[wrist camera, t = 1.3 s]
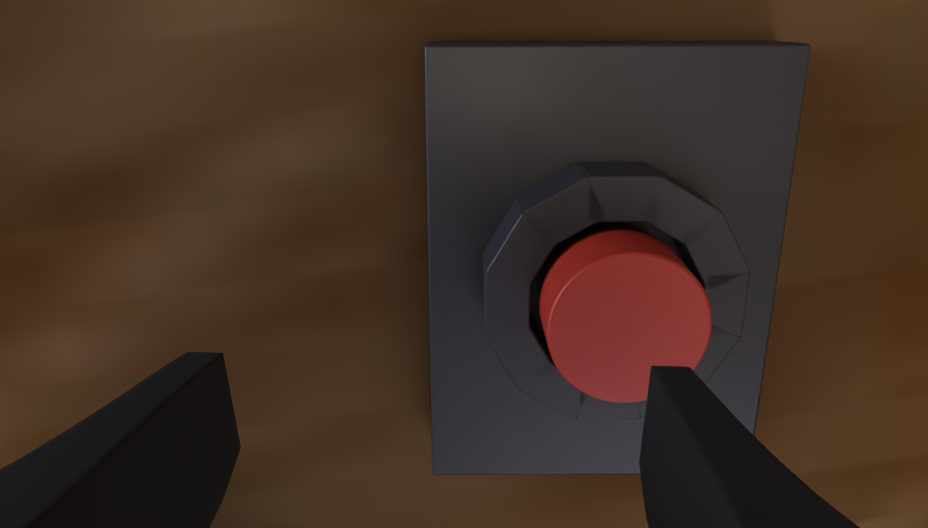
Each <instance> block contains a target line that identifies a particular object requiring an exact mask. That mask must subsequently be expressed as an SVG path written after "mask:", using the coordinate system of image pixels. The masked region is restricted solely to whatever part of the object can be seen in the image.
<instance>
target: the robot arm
mask: <svg viewBox="0 0 928 528" xmlns="http://www.w3.org/2000/svg"><path fill="white" fill-rule="evenodd" d="M240 448H241V446H240V441H239V436H238V431H237V425H236V420H235V415H234V409H233V404H232V399H231V394H230V388H229V383H228V378H227V372H226V367H225V362H224V357H223V353H207V352H187V353H186V354H184V355H182V356H180V357H179V358H177V359H175V360H174V361H172V362H170V363H169V364H167V365H166V366H164V367H163V368H161V369H160V370H158V371H157V372H155V373H154V374H152V375H151V376H149V377H148V378H146V379H145V380H143V381H142V382H140V383H139V384H137V385H136V386H134V387H133V388H131V389H130V390H128V391H127V392H125V393H124V394H122V395H121V396H119V397H118V398H116V399H115V400H113V401H112V402H110V403H109V404H107V405H106V406H104V407H103V408H101V409H100V410H98V411H97V412H95V413H94V414H92V415H91V416H89V417H88V418H86V419H84V420H83V421H81V422H79V423H78V424H76V425H75V426H73V427H71V428H70V429H68V430H66V431H65V432H63V433H62V434H60V435H58V436H57V437H55V438H53V439H52V440H50V441H48V442H47V443H45V444H44V445H42V446H40V447H39V448H37V449H35V450H34V451H32V452H31V453H29V454H27V455H25V456H24V457H22V458H20V459H18V460H17V461H15V462H13V463H11V464H9V465H7V466H6V467H4V468H2V469H0V528H209V527H210V525H211V523H212V521H213V519H214V517H215V515H216V513H217V511H218V509H219V507H220V505H221V503H222V501H223V498H224V495H225V492H226V490H227V487H228V484H229V481H230V478H231V476H232V472H233V469H234V466H235V463H236V460H237V457H238V454H239V451H240ZM639 466H640V474H641V482H642V490H643V497H644V504H645V511H646V518H647V522H648V526H649V528H859V527H858V526H857V525H856V524H854V523H853V522H852V521H850V520H849V519H848V518H846V517H845V516H844V515H843V514H841V513H840V512H839V511H837V510H836V509H835V508H833V507H832V506H831V505H830V504H828V503H827V502H826V501H825V500H824V499H822V498H821V497H820V496H819V495H817V494H816V493H815V492H814V491H813V490H812V489H810V488H809V487H808V486H807V485H806V484H805V483H804V482H803V481H801V480H800V479H799V478H798V477H797V476H796V475H795V474H794V473H792V472H791V471H790V470H789V469H788V468H787V467H786V466H785V465H783V464H782V463H781V462H780V461H779V460H778V459H777V458H776V457H775V456H774V455H773V454H772V453H771V452H770V451H769V450H768V449H767V448H766V447H765V446H764V445H763V444H762V443H761V442H760V441H759V440H758V439H757V438H756V437H755V436H754V435H753V434H752V433H751V432H750V431H749V430H748V429H747V428H746V427H745V426H744V425H743V424H742V423H741V422H740V421H739V420H738V419H737V418H736V417H735V416H734V415H733V414H732V413H731V411H730V410H729V409H728V408H727V407H726V406H725V405H724V404H723V403H722V402H721V401H720V400H719V399H718V397H717V396H716V395H715V394H714V393H713V392H712V391H711V390H710V389H709V388H708V386H707V385H706V384H705V383H704V382H703V381H702V380H701V379H700V378H699V377H698V376H697V375H696V373H695V372H694V371H693V370H692V369H691V368H690V367H686V366H652V365H651V371H650V379H649V387H648V395H647V403H646V411H645V419H644V427H643V435H642V443H641V450H640V458H639Z"/></svg>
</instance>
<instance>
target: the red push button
mask: <svg viewBox="0 0 928 528" xmlns="http://www.w3.org/2000/svg"><path fill="white" fill-rule="evenodd" d="M539 312H540V317H541V322H542V325H543V329H544V333H545V337H546V341H547V344H548V348H549V351H550V354H551V357H552V360H553V362H554V364H555V366H556V367H557V369H558V370H559V372H560V373H561V375H562V376H563V377H564V378H565V379H566V380H567V381H568V382H569V383H570V384H572V385H573V386H574V387H575V388H577V389H578V390H580V391H582V392H583V393H585V394H587V395H589V396H592V397H594V398H597V399H600V400H604V401H609V402H617V403H630V402H639V401H644V400H647V395H648V387H649V379H650V371H651V365H652V366H686V367H690V368H691V369H692V370H694V369H695V368H696V367H697V365H698V364H699V362H700V361H701V359H702V357H703V355H704V353H705V351H706V349H707V346H708V343H709V340H710V335H711V330H712V314H711V307H710V303H709V299H708V297H707V295H706V292H705V290H704V288H703V287H702V285H701V283H700V282H699V281H698V279H697V278H696V277H695V276H694V275H693V274H692V272H691V271H690V270H689V269H688V268H687V267H686V266H685V265H684V263H683V262H682V261H681V260H680V259H679V258H678V257H677V256H676V255H675V253H674V252H673V251H672V250H671V249H670V248H669V247H668V246H666V245H665V244H664V243H663V242H661V241H660V240H658V239H656V238H654V237H652V236H650V235H648V234H645V233H642V232H639V231H634V230H629V229H610V230H604V231H599V232H596V233H593V234H589V235H587V236H585V237H583V238H581V239H579V240H577V241H576V242H574V243H572V244H571V245H570V246H568V247H567V248H566V249H565V250H563V251H562V252H561V253H560V255H559V256H558V257H557V258H556V259H555V260H554V262H553V263H552V264H551V266H550V267H549V269H548V271H547V273H546V275H545V277H544V280H543V282H542V286H541V290H540V296H539Z"/></svg>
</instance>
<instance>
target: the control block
mask: <svg viewBox="0 0 928 528" xmlns="http://www.w3.org/2000/svg"><path fill="white" fill-rule="evenodd" d="M810 50H811V45H810V44H806V43H794V42H782V41H542V42H429V43H428V44H426V45H425V48H424V58H425V110H426V163H427V216H428V269H429V322H430V375H431V427H432V472H433V474H434V475H495V474H640V466H639V458H640V450H641V443H642V435H643V427H644V419H645V411H646V403H647V400H644V401H639V402H630V403H617V402H609V401H604V400H600V399H597V398H594V397H592V396H589V395H587V394H585V393H583V392H582V391H580V390H578V389H577V388H575V387H574V386H573V385H572V384H570V383H569V382H568V381H567V380H566V379H565V378H564V377H563V376H562V375H561V373H560V372H559V370H558V369H557V367H556V366H555V364H554V362H553V360H552V357H551V354H550V351H549V348H548V344H547V341H546V337H545V333H544V329H543V325H542V322H541V317H540V312H539V296H540V290H541V286H542V282H543V280H544V277H545V275H546V273H547V271H548V269H549V267H550V266H551V264H552V263H553V262H554V260H555V259H556V258H557V257H558V256H559V255H560V253H561V252H562V251H563V250H565V249H566V248H567V247H568V246H570V245H571V244H572V243H574V242H576V241H577V240H579V239H581V238H583V237H585V236H587V235H589V234H593V233H596V232H599V231H604V230H610V229H629V230H634V231H639V232H642V233H645V234H648V235H650V236H652V237H654V238H656V239H658V240H660V241H661V242H663V243H664V244H665V245H666V246H668V247H669V248H670V249H671V250H672V251H673V252H674V253H675V255H676V256H677V257H678V258H679V259H680V260H681V261H682V262H683V263H684V265H685V266H686V267H687V268H688V269H689V270H690V271H691V272H692V274H693V275H694V276H695V277H696V278H697V279H698V281H699V282H700V283H701V285H702V287H703V288H704V290H705V292H706V295H707V297H708V299H709V303H710V307H711V314H712V330H711V335H710V340H709V343H708V346H707V349H706V351H705V353H704V355H703V357H702V359H701V361H700V362H699V364H698V365H697V367H696V368H695V369H694V370H693V371H694V372H695V373H696V375H697V376H698V377H699V378H700V379H701V380H702V381H703V382H704V383H705V384H706V385H707V386H708V388H709V389H710V390H711V391H712V392H713V393H714V394H715V395H716V396H717V397H718V399H719V400H720V401H721V402H722V403H723V404H724V405H725V406H726V407H727V408H728V409H729V410H730V411H731V413H732V414H733V415H734V416H735V417H736V418H737V419H738V420H739V421H740V422H741V423H742V424H743V425H744V426H745V427H746V428H747V429H748V430H749V431H750V432H751V433H752V434H753V435H754V434H755V427H756V420H757V413H758V406H759V399H760V393H761V386H762V379H763V372H764V365H765V358H766V351H767V345H768V338H769V331H770V324H771V317H772V310H773V303H774V297H775V290H776V283H777V276H778V269H779V262H780V255H781V249H782V242H783V235H784V228H785V221H786V214H787V207H788V200H789V194H790V187H791V180H792V173H793V166H794V159H795V152H796V146H797V139H798V132H799V125H800V118H801V111H802V104H803V98H804V91H805V84H806V77H807V70H808V63H809V56H810Z"/></svg>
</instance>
